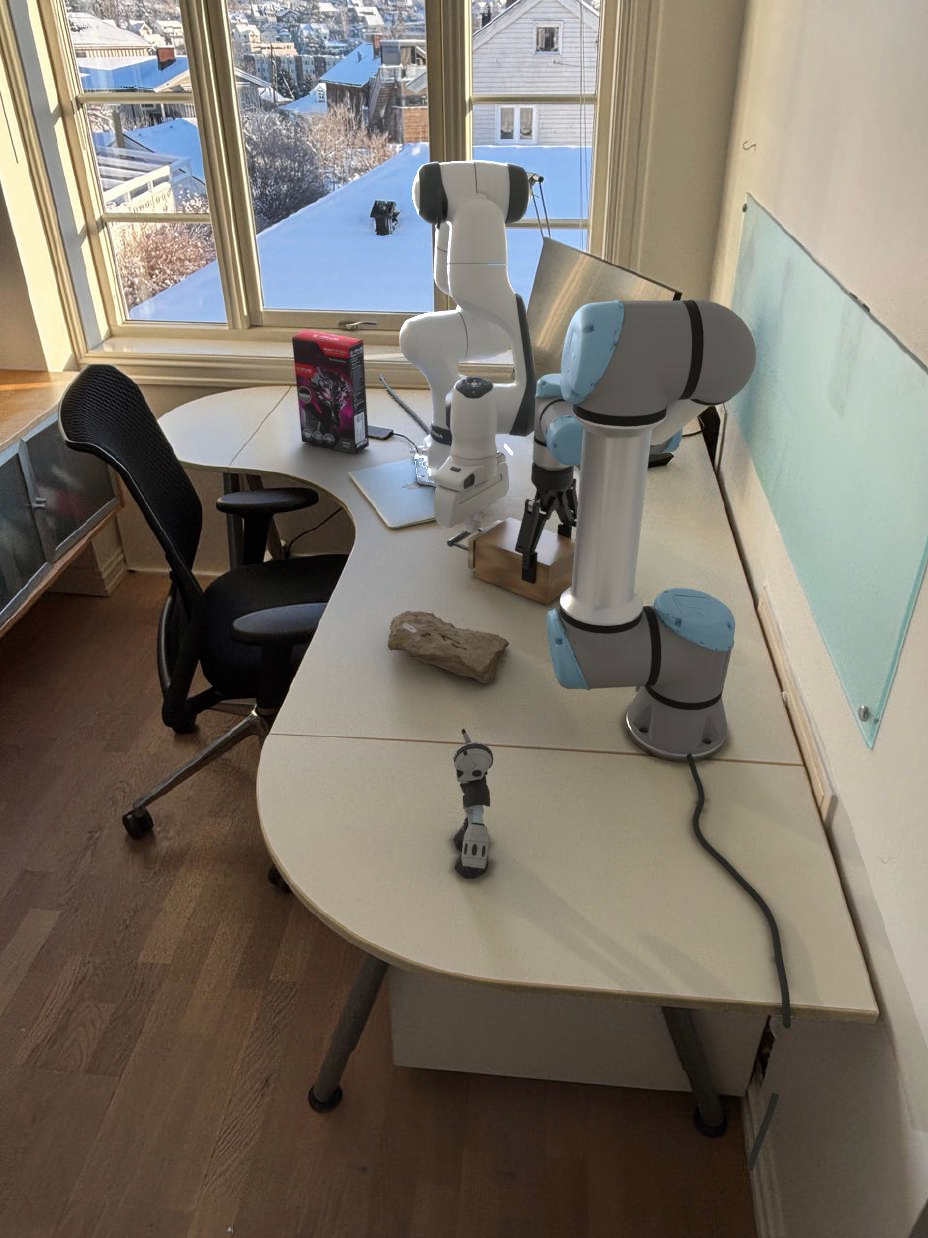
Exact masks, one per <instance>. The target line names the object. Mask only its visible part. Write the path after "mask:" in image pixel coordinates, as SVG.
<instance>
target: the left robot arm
mask: <svg viewBox="0 0 928 1238" xmlns="http://www.w3.org/2000/svg"><path fill="white" fill-rule="evenodd" d="M412 200H413V204H414V207H415V209H416V213H417V215H418V217H420V218H421V220H423V222H425V223H428V224H430V225H434V227H435V241H434V267H433V272H434V273H433V278H434V282H435V285H436V286H437V288H438V289H439V290H440V291H441V292H442V293H443V294H445V295H446V296H449V297H450V298H452V300H453V301H454V303H455V304H456V309H455V308H454V309H451V310H444V311H443V310H442V311H434V312H425V313H423V314H419V315H417V316H414V317H411V318H409V319H406V320H405V321H404V323H403V325H402V327H401V329H400V331H399V339H398V340H399V341H398V343H399V349H400V351H401V353H402V355H403V357H404V358H405V360H406V361H407V362H408V363H410V364H411V365H412V366H414V367H415V368H416V369H418V370H419V371H420V372H421V373H422V374H423V376H424V377H425V379H426V381H427V383H428V386H429V389H430V395H431V406H432V418H431V421H430V425H429V427H428V425H426V423H425V422H424V421H423V420H422V419H421V418H420V417H419V416H418V414H416V412H415V411H413V409H411V407H409V406H408V405H407V403H405V402H404V401H403V400H402V399H401V397H399V396H398V395H397V394H396V393H395V392H394V391H393V389H391V387H390V386H389V384H388V383H387V381H386V380H385V378H384V375H383V374H381V373H380V374H379V375H378V377H379V379H380V380H381V382H382V384H383V386H384V388H385V389H386V390H387V392H389V394H390V395H391V396H392V397H393V398H394V399H395V400H396V401H397V402H398V403H399V404H400V405H401V406H402V407H403V408H404V409H405V410H406V411H407V412H408V413H409V414H410V415H411V416H412V417H413V418H414V419H415V420H416V422H417V423H419V424H420V426H421V427H422V428H423V429H424V430H425V432H426V433H427V436H425V437H424V438H423V445H419V446H417V453H416V454H415V455H414V465H415V466H414V467H415V472H416V480H417V483H418V484H420V485H426V486H430V487H431V486H432V487H434V488H435V491H434V497H433V498H434V499H433V503H434V504H433V506H434V507H433V508H434V520H435V521H436V523H437V524H438V525H440V526H443V527H447V528H450V529H451V528H454V527H455V526H457V525H459V524H460V523H462V522H464V524H465V526H464V527H465V530H466V531H467V532H469V533H473V532H474V531H476V530H477V529H479V528H482V520H483V518H484V515H485V512H486V507H488V506H490V505H491V504H493V503H495V502H496V501H498V500H500V499H501V498H503V497H505V496H506V495H507V494H508V493H509V490H510V476H509V475H510V473H509V466H508V464H507V462H506V460H507V459H506V454H505V453H504V452H502V451H500V450H498V447H497V442H496V436H497V435H509V436H514V437H522V438H526V437H528V436H530V435H531V434H532V433H534V423H535V395H536V388H537V378H536V367H535V359H534V350H533V345H532V344H533V343H532V337H531V329H530V327H529V319H528V314H527V313H528V312H527V307H526V304H525V301H524V299H523V296H522V295H521V294H519V293H517V292H515V290H514V289H513V286H512V284H511V281H510V278H509V277H510V276H509V271H508V237H507V229H506V225H510V224H514V223H517V222H519V221H520V220H522V218H523V217H524V216H525V215H526V213H527V210H528V208H529V204H530V201H531V185H530V181H529V175H528V173H527V170H526V169H525V168H524V167H523V166H521V165H520V164H516V163H513V162H507V161H506V162H505V163H502V162H498V161H497V162H496V161H489V160H481V159H480V160H479V159H478V160H476V159H472V160H470V161H469V160H463V161H462V160H461V161H460V160H459V161H450V162H449V161H447V162H439V161H432V162H427V163H424V164H422V165H421V166H420V167H419V168H418V170H417V171H416V175H415V178H414V180H413V185H412ZM510 348H511V356H512V357H511V358H512V362H513V364H512V365H513V368H514V370H513V371H514V377H515V378H514V381H512V382H510V383H509V382H508V383H506V382H505V383H502V382H501V383H500V382H499V383H498V382H497V383H496V382H495V383H494V382H492V381H491V380H490V379H488V378H486V377H483V376H478V375H471V376H466V375H465V374H461V373H460V372H459V366H460V365H459V364H461V363H466V362H473V361H474V362H475V361H483V360H488V359H491V358H494V357H497V356H499V355H502V354H505V353H507V352H508V351H509V349H510ZM503 447H504V449H506V451H507V452H508V453H509V454H510V455H511V456H513V455H514V452H513V451H512V450H511V449H510V447H509V446H508V445H507V444H506V443H504V444H503ZM419 458H424V461H423V462H422V466H423V467H426V469H427V473H428V480H429V481H430V480H431V481H434V483H432V482H426V481H420V480H419V479H418V475H417V468H416V461H415V459H419ZM419 463H421V462H419ZM419 477H426V476H425V475H420V476H419ZM476 532H477V531H476ZM474 533H475V532H474ZM474 533H473V534H474Z"/></svg>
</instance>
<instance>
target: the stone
mask: <svg viewBox="0 0 928 1238" xmlns="http://www.w3.org/2000/svg"><path fill="white" fill-rule="evenodd" d="M389 630H390V632H389V635H388V641H387V648H388V650H389V651H391V652H392V651H401V652H403V653H405V654H406V655H407V657H408V658H410V659H412V660H417V661H418V660H420V662H421V663H425V664H430V665H435V666H436V667H439V668H441V669H444V670H446V671H448V672H452V673H453V674H455V675H457V676H460V677H467V678H473V679H475V680H477V682H479V683H482V684H486V685H487V684H490V683H492V682H493V680H494V678H495V677H496V675H497V671H498V665H499V664H500V661H501V659H502V657H503V655H504V653H505V652H506V648H507V647H508V646H509V645H510V642H509V641H508V640H507V639H506V638H504V637H503V636H500V635H499V634H495V633H492V632H483V631H480V630H473V629H470V628H462V627H455V626H454V625H453V624H452V622H446V621H444V620H443V619H442V618H440V617H438V616H436V615H435V614H434V613H433V612H425V611H422V610H421V611H420V610H419V611H418V610H417V611H411V610H406V611H404V612H401V613H400V614H398V615H396V616H394V617H392V619H391V622H390V625H389Z"/></svg>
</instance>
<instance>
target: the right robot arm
mask: <svg viewBox="0 0 928 1238" xmlns="http://www.w3.org/2000/svg"><path fill="white" fill-rule="evenodd" d="M756 361H757V347H756V344H755V340H754V336H753V335H752V332H751V330H750V329H749V327H748V326H747V324H746V323H745V321H744V320H743V318H742V317H740V316H739V315H738V314H736V312H735V311H733V310H731V309H730V308H728V307H727V306H725V305H722V304H720V303H718V302H716V301H711V300H705V299H687V300H680V299H679V300H619V299H613V300H611V301H600V302H599V301H598V302H589V303H585V304H584V305H582V306H581V307H579V308H578V309H577V310H576V312H575V313H574V315H573V316H572V318H571V320H570V323H569V325H568V328H567V331H566V334H565V338H564V342H563V347H562V354H561V361H560V372H561V373H549V374H544V375H543V376H541V377H540V378H538V380H537V381H536V383H537V388H536V395H535V423H534V431H533V441H532V444H533V447H532V463H531V473H530V474H531V475H530V480H531V483H532V485H534V487H535V488H536V491H535V495H534V498H533V499H530V498H526V499H525V501H524V509H523V516H522V519H521V521H522V523H521V527H520V531H519V535H518V539H517V543H516V547H515V551H516V552H519V553H521V554H522V577H521V580H524V581H526V582H529V583H531V584H534V583H536V568H537V553H538V552H535V550H536V547H537V544H538V542H539V539H540V536H541V534H542V531H543V529H545V526H546V523H547V521H550V519H551V516H552V514H553V512H555V513H556V515H557V517H558V519H559V521H560V523H558V524H557V532H556V533H557V534H559V535H562V536H565V537H568V538H571V539H572V532H573V528H575V535H574V536H575V539H574V540H575V549H574V563H573V577H572V586H571V587H569V588H568V589H567V590H565V591H564V592H563V593H562V594H560V599H559V608H552V609H551V610H548V611H547V613H546V618H545V619H546V621H545V623H546V633H547V634H546V635H547V640H548V641H547V643H548V647H549V654H550V660H551V664H552V668H553V672H554V675H555V678H556V680H557V683H558V684H559V685H560V686H561V687H562V688H564V689H567V690H586V691H591V690H594V689H595V690H597V689H617V688H634V687H635V691H634V692H635V693H636V694H635V695H634V697H633V699H632V701H631V702H630V704H629V706H628V708H627V711H626V719H625V728H626V732H627V734H628V736H629V738H630V739H631V741H632V742H634V744H636V745H637V746H638V747H639V748H640V749H641V750H643V751H645V752H646V753H648V754H650V755H651V756H654V757H656V758H659V759H662V760H666V761H670V762H675V763H688V766H689V769H690V772H691V775H692V778H693V781H694V783H695V785H696V789H697V795H698V797H697V802H696V806H695V810H694V812H693V816H692V829H693V833H694V835H695V837H696V838H697V841H698V842H699V844H700V845H701V846H702V848H704V849H705V850H706V852H707V853H708V854H709V855H711V856H712V858H714V859H715V860H716V861H717V862H718V863H719V864H720V865H721V867H723V868H724V869H725V870H726V872H728V874H729V875H730V876H731V877H732V878H733V879H734V880H735V881H736V882H737V883H738V885H740V886H741V887H742V888H743V890H745V892H747V894H749V896H750V897H752V899H753V900H754V902H756V903H757V905H758V907H759V908H760V909H761V911H762V913H763V914H764V916H765V918H766V921H767V923H768V925H769V928H770V932H771V938H772V944H773V952H774V959H775V964H776V969H777V975H778V981H779V986H780V994H781V1009H782V1010H781V1011H782V1012H781V1013H782V1016H781V1017H782V1026H783V1027H784V1029H786V1030H787V1029H788V1030H790V1029H791V1025H792V1024H791V1021H792V1018H791V1014H792V1013H791V999H790V990H789V989H790V988H789V983H788V978H787V977H788V976H787V973H786V968H785V963H784V957H783V950H782V943H781V937H780V932H779V927H778V925H777V922H776V919H775V917H774V914H773V913H772V911H771V909H770V907H769V906H768V904H767V902H765V900H764V899H763V897H762V896H761V894H759V893H758V892H757V890H756V889H755V888H754V887H752V885H751V884H750V883H749V882H748V881H747V880H746V879H745V878H743V876H742V875H741V874H740V873H739V872H738V871H737V870H736V869H735V867H734V866H733V865H732V864H730V862H729V861H728V860H727V859H726V858H724V857H723V855H722V854H720V853H719V852H718V851H717V850H716V849H715V848H714V847H713V846H712V845H711V844H710V843H709V842H708V840H707V839H706V838H705V836H704V835H703V833H702V831H701V828H700V817H701V814H702V811H703V809H704V805H705V801H706V800H705V799H706V797H705V789H704V785H703V782H702V780H701V778H700V775H699V772H698V769H697V766H696V763H695V762H700V761H703V760H706V759H709V758H711V757H714V755H716V754H718V752H720V751H721V750H722V748H723V747H724V744H725V743H726V740H727V739H726V738H727V733H728V721H727V716H726V712H725V708H724V707H725V706H724V701H723V692H724V686H725V682H726V678H727V674H728V669H729V664H730V659H731V654H732V651H733V649H734V646H735V640H734V639H735V632H736V620H735V619H736V618H735V617H734V614H733V612H732V611H731V609H730V608H729V607H728V606H727V605H726V604H725V603H723V602H722V601H721V600H719V599H718V598H716V597H715V596H712V595H711V594H708V593H706V592H704V591H701V590H696V589H692V588H686V587H673V588H668V589H665V590H663V591H662V592H660V593H658V595H657V596H656V597H655V599H654V601H653V605H644V603H643V600H642V598H641V596H639V594H637V593H636V592H635V585H636V575H637V567H638V556H639V549H640V539H641V531H642V522H643V512H644V503H645V496H646V495H645V494H646V485H647V477H648V468H649V458H650V455H654V456H656V455H661V454H668V453H669V454H670V453H674V452H675V451H677V450H679V449H678V448H679V447H680V443H682V439H683V430H684V429H683V428H685V427H686V426H687V425H688V424H689V423H691V422H692V421H693V420H694V419H696V418H697V417H699V415H701V414H702V413H703V412H704V411H706V410H707V409H709V407H716V406H720V405H723V404H725V403H727V402H729V401H730V400H732V399H733V398H734V397H735V396H737V395H738V394H739V393H740V392H741V391H742V390H743V389H744V388H745V387H746V386H747V384H748V383H749V382H750V380H751V378H752V376H753V373H754V371H755V366H756ZM579 465H580V466H579ZM577 466H579V468H580V469H579V481H578V494H577V478H575V477H574V473H575V471H574V470H575V467H577ZM779 1098H780V1094H778V1093H775V1092H771V1094H770V1097H769V1101H768V1104H767V1107H766V1110H765V1113H764V1116H763V1119H762V1121H761V1124H760V1127H759V1129H758V1131H757V1134H756V1137H755V1140H754V1143H753V1146H752V1148H751V1150H750V1153H749V1157H748V1160H747V1163H746V1170H747V1171H748V1172H753V1171H754V1168H755V1165H756V1162H757V1160H758V1156H759V1154H760V1150H761V1149H762V1145H763V1143H764V1140H765V1138H766V1136H767V1133H768V1130H769V1127H770V1125H771V1122H772V1119H773V1117H774V1114H775V1112H776V1108H777V1106H778V1105H777V1104H778V1101H779Z"/></svg>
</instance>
